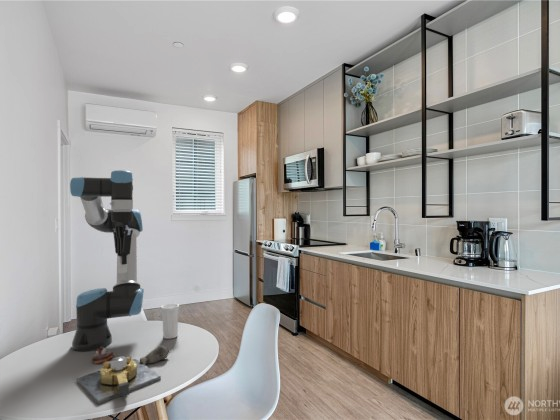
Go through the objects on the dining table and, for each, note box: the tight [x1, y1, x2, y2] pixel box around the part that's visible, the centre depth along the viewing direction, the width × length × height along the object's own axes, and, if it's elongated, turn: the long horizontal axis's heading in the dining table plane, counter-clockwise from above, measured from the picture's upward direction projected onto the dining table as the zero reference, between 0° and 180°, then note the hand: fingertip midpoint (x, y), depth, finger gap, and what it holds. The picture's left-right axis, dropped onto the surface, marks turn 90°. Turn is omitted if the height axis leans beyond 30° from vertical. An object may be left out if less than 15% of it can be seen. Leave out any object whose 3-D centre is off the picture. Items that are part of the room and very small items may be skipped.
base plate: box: [76, 355, 162, 405], centre depth 115 cm, size 21×20×7 cm
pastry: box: [91, 347, 115, 365], centre depth 131 cm, size 8×8×5 cm
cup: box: [160, 302, 180, 340], centre depth 154 cm, size 8×8×14 cm
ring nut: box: [99, 356, 137, 398], centre depth 111 cm, size 20×11×4 cm, turn 31°
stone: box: [139, 345, 170, 366], centre depth 129 cm, size 10×5×8 cm
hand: (122, 272), depth 129 cm, fingers closed
